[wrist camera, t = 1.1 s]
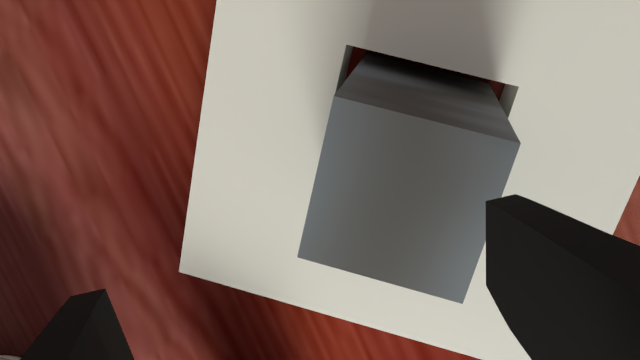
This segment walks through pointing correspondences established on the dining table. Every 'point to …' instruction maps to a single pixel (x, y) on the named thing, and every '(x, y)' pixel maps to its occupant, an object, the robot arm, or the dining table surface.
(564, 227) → the robot arm
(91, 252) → the dining table surface
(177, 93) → the dining table surface
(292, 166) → the pocket block
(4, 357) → the lidded jar
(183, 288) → the dining table surface
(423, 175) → the peg
